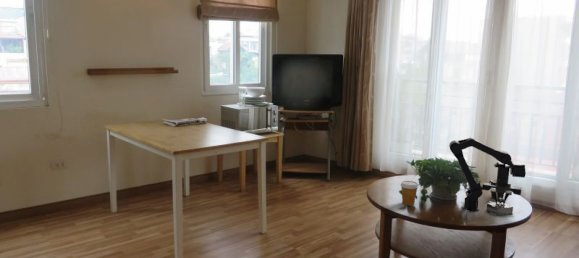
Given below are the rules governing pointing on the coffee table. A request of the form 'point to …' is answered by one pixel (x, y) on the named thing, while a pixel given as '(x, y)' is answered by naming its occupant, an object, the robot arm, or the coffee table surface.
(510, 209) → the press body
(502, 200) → the plunger
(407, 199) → the beer cup
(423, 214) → the coffee table surface
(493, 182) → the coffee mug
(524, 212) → the coffee table surface
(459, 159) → the robot arm
